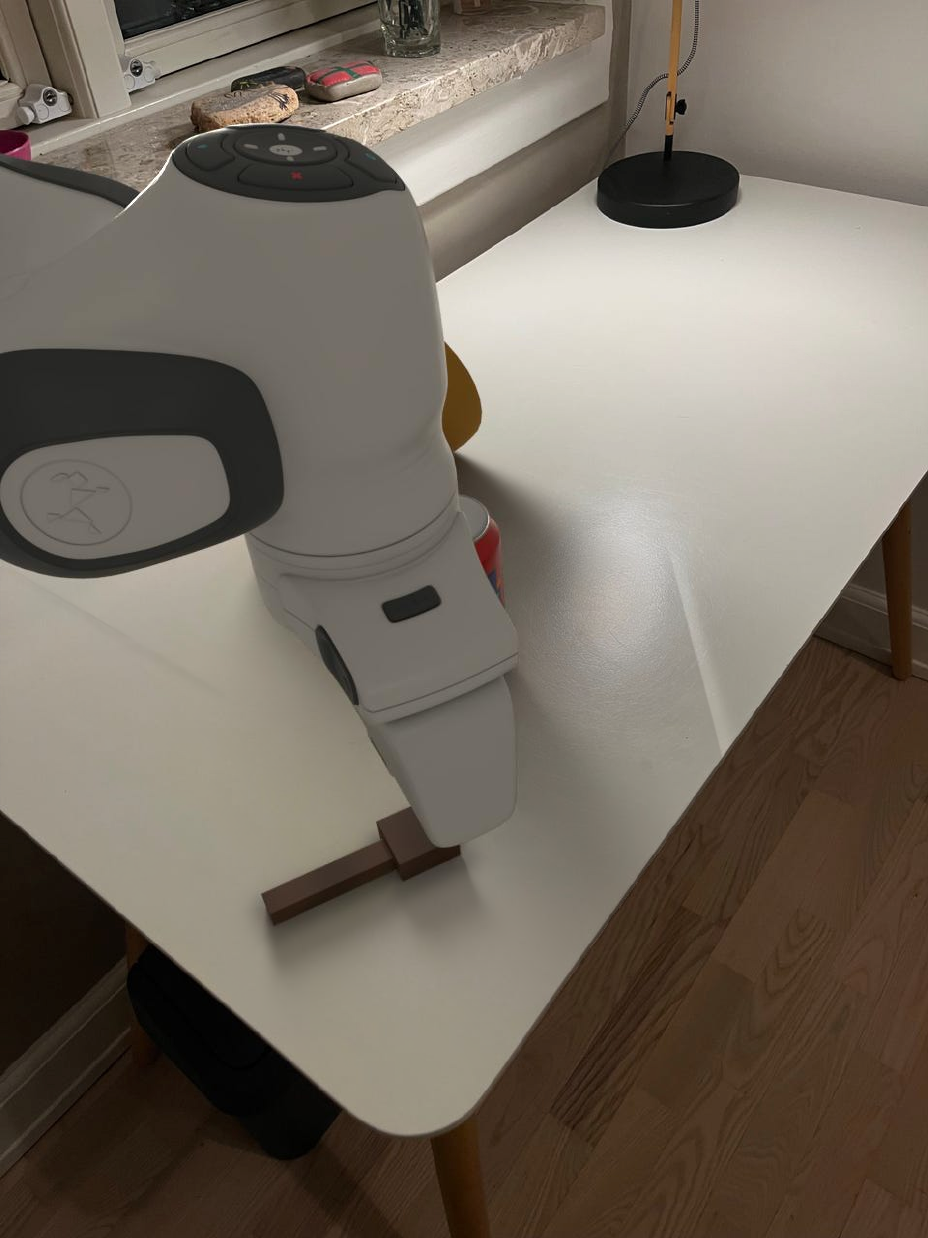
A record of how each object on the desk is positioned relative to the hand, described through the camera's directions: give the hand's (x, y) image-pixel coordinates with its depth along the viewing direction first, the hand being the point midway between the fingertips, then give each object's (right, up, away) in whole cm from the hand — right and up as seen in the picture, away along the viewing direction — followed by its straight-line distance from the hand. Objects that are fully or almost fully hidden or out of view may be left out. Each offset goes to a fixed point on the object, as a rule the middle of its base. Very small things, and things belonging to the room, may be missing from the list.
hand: (395, 753), depth 52 cm
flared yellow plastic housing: (-7, +19, +49) cm, 53 cm away
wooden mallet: (-3, -10, +17) cm, 20 cm away
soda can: (+3, +3, +31) cm, 31 cm away
